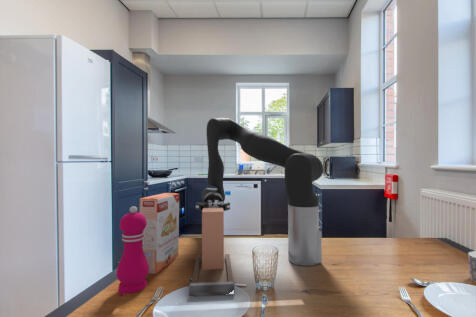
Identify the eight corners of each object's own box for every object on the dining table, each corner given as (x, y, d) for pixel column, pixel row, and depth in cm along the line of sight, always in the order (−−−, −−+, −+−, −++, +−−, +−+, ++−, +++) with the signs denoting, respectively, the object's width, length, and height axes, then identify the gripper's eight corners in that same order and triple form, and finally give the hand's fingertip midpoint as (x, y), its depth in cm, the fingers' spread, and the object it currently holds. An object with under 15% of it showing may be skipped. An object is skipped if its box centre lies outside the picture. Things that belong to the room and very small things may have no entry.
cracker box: (157, 277, 68) (158, 198, 68) (137, 275, 69) (137, 198, 69) (180, 258, 81) (180, 192, 82) (162, 256, 83) (162, 192, 83)
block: (223, 260, 77) (223, 207, 77) (223, 268, 71) (223, 211, 71) (203, 261, 76) (203, 208, 77) (202, 269, 70) (202, 211, 71)
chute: (229, 260, 79) (229, 250, 79) (234, 298, 57) (234, 283, 57) (196, 261, 78) (196, 251, 78) (189, 300, 56) (189, 285, 56)
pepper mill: (155, 285, 63) (155, 204, 64) (134, 300, 56) (135, 209, 57) (131, 280, 66) (132, 203, 66) (109, 294, 59) (109, 207, 59)
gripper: (196, 192, 100) (192, 199, 82) (230, 192, 101) (233, 199, 84) (196, 211, 100) (192, 222, 82) (229, 211, 101) (232, 222, 84)
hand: (212, 211), depth 83 cm, fingers closed
